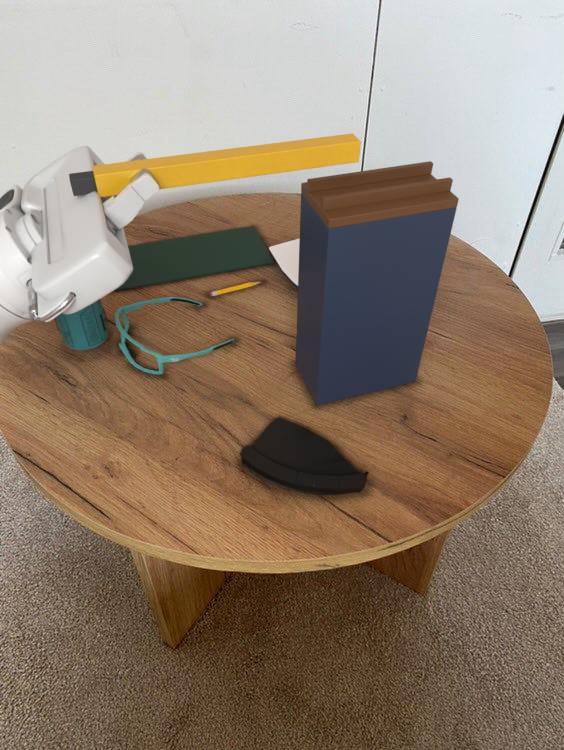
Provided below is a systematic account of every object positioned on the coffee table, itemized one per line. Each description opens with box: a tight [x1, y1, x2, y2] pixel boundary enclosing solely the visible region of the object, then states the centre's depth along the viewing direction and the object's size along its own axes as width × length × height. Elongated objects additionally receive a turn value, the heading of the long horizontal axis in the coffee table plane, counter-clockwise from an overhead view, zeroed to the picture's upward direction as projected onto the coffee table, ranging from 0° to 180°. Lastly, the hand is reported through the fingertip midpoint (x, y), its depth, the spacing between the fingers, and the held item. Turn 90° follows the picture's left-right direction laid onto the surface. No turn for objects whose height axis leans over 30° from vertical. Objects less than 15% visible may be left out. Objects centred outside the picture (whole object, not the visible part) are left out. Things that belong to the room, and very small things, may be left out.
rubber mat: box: [113, 225, 275, 293], centre depth 97 cm, size 26×12×1 cm, turn 108°
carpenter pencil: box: [69, 133, 362, 197], centre depth 52 cm, size 26×2×2 cm, turn 108°
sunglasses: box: [114, 296, 236, 376], centre depth 81 cm, size 14×15×5 cm
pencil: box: [208, 281, 261, 298], centre depth 91 cm, size 1×8×1 cm, turn 114°
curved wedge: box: [239, 416, 369, 496], centre depth 66 cm, size 8×14×2 cm, turn 55°
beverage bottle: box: [53, 298, 111, 351], centre depth 74 cm, size 6×7×20 cm
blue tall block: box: [295, 160, 460, 406], centre depth 68 cm, size 14×8×27 cm, turn 108°
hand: (150, 169), depth 50 cm, fingers closed on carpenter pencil, 2 cm apart
